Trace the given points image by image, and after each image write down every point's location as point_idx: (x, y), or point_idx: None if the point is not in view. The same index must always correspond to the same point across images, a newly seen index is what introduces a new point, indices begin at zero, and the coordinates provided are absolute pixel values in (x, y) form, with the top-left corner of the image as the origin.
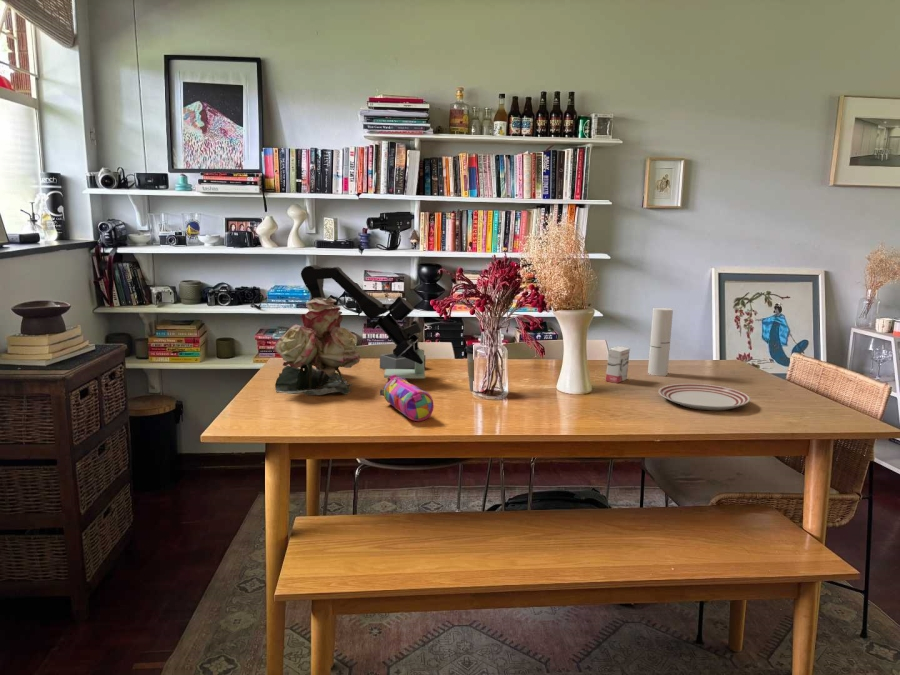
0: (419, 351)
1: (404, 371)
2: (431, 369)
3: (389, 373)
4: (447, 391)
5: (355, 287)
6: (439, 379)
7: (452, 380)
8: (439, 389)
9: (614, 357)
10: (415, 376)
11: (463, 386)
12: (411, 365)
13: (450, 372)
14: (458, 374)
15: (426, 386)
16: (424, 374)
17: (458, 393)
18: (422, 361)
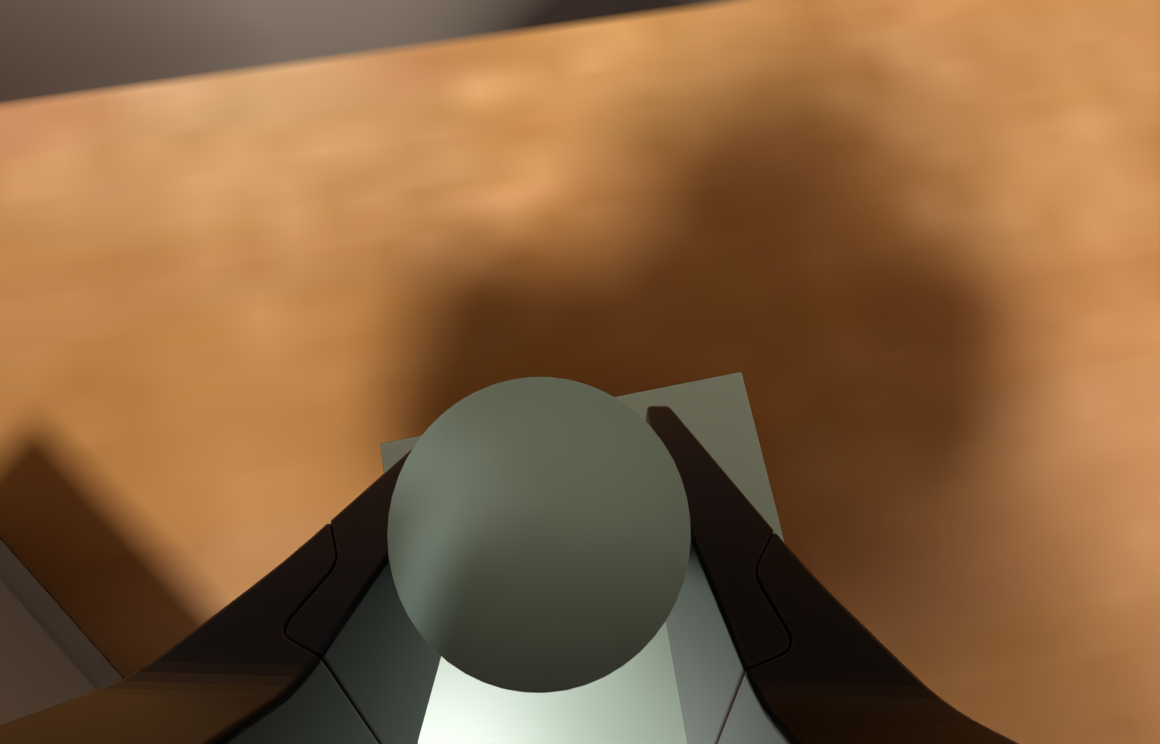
0: (681, 502)
1: (559, 702)
2: (40, 438)
3: None
4: (936, 128)
5: None
6: (483, 277)
7: (496, 152)
8: (888, 209)
9: None
10: (768, 493)
11: (703, 27)
12: (43, 692)
13: (160, 223)
14: (237, 137)
15: (812, 351)
16: (661, 394)
17: (971, 29)
18: (672, 414)
